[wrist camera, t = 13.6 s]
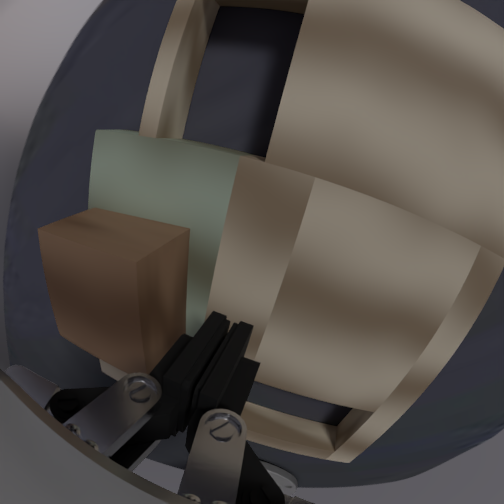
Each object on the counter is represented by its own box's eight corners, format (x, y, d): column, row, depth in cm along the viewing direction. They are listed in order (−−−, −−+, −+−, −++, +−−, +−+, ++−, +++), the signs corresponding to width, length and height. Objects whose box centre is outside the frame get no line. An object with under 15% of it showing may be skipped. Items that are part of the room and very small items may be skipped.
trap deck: (349, 438, 18) (348, 462, 16) (118, 354, 21) (101, 371, 19) (519, 69, 6) (542, 62, 4) (173, -26, 9) (153, -43, 7)
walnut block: (185, 334, 14) (148, 383, 11) (102, 301, 15) (60, 334, 12) (190, 228, 12) (136, 262, 8) (94, 207, 13) (37, 228, 9)
